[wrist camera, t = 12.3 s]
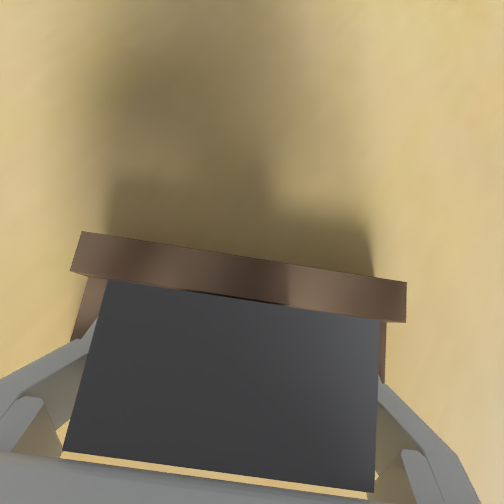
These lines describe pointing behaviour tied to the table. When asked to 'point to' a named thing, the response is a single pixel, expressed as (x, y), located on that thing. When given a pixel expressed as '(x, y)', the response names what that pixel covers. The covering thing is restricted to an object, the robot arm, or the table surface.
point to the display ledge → (232, 281)
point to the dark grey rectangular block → (230, 387)
